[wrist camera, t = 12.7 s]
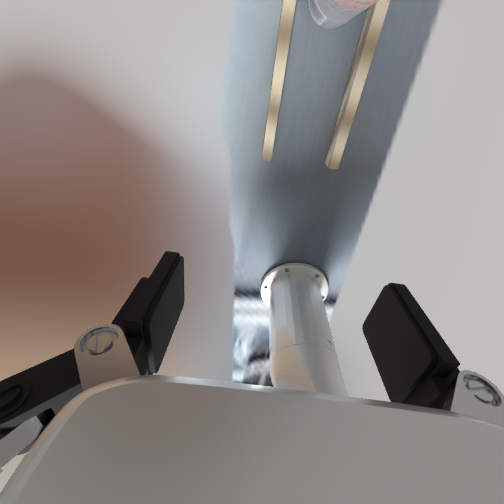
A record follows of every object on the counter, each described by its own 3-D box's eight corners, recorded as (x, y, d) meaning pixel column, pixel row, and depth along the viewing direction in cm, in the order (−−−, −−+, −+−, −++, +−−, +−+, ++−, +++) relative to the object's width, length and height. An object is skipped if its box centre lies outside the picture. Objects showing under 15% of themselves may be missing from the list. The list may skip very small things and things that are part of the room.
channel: (333, 164, 35) (339, 172, 32) (262, 154, 35) (261, 161, 32) (418, -123, 21) (442, -155, 18) (302, -143, 21) (308, -178, 18)
